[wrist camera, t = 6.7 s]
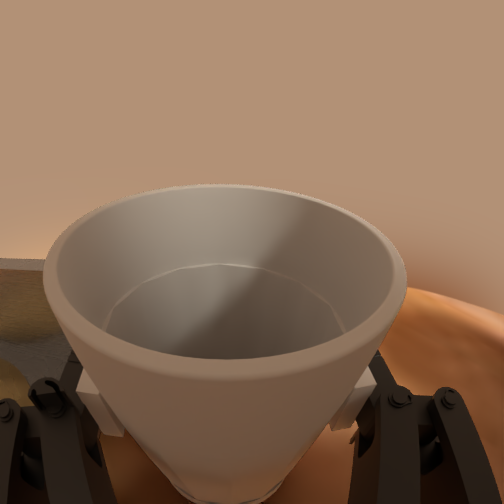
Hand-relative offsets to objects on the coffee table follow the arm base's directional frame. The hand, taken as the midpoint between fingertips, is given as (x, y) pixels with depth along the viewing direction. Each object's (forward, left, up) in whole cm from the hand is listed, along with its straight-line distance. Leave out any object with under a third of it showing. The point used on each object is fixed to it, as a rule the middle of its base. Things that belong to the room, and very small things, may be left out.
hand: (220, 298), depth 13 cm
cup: (0, +5, -7) cm, 8 cm away
